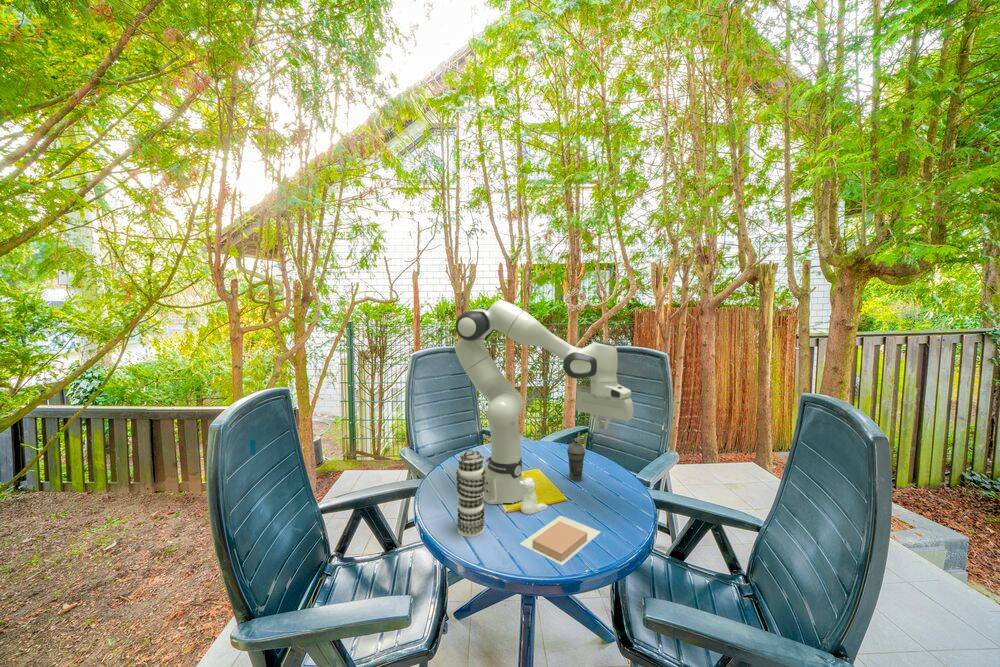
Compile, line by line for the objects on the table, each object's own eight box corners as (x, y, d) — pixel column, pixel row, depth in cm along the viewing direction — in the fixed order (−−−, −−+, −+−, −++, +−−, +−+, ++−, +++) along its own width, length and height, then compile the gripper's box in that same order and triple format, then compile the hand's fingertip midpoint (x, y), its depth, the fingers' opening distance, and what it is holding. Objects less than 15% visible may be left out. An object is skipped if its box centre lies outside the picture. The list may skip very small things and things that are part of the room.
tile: (559, 527, 129) (532, 547, 118) (559, 521, 129) (532, 540, 118) (587, 540, 122) (561, 561, 112) (587, 532, 122) (561, 553, 112)
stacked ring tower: (470, 518, 135) (470, 445, 134) (491, 528, 129) (491, 452, 128) (450, 530, 128) (449, 453, 127) (471, 541, 122) (471, 460, 121)
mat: (519, 545, 120) (519, 543, 120) (560, 517, 137) (560, 515, 136) (562, 567, 110) (562, 565, 110) (601, 533, 127) (601, 531, 127)
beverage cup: (568, 474, 171) (569, 427, 170) (586, 477, 168) (586, 429, 167) (565, 481, 164) (565, 433, 163) (583, 484, 162) (583, 435, 160)
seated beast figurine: (548, 509, 142) (548, 475, 141) (537, 520, 134) (538, 485, 134) (524, 502, 147) (524, 470, 146) (512, 513, 139) (512, 479, 138)
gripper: (572, 385, 143) (571, 424, 144) (627, 394, 129) (626, 437, 130) (581, 383, 148) (581, 420, 148) (636, 391, 134) (634, 432, 135)
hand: (602, 428), depth 139 cm, fingers closed
